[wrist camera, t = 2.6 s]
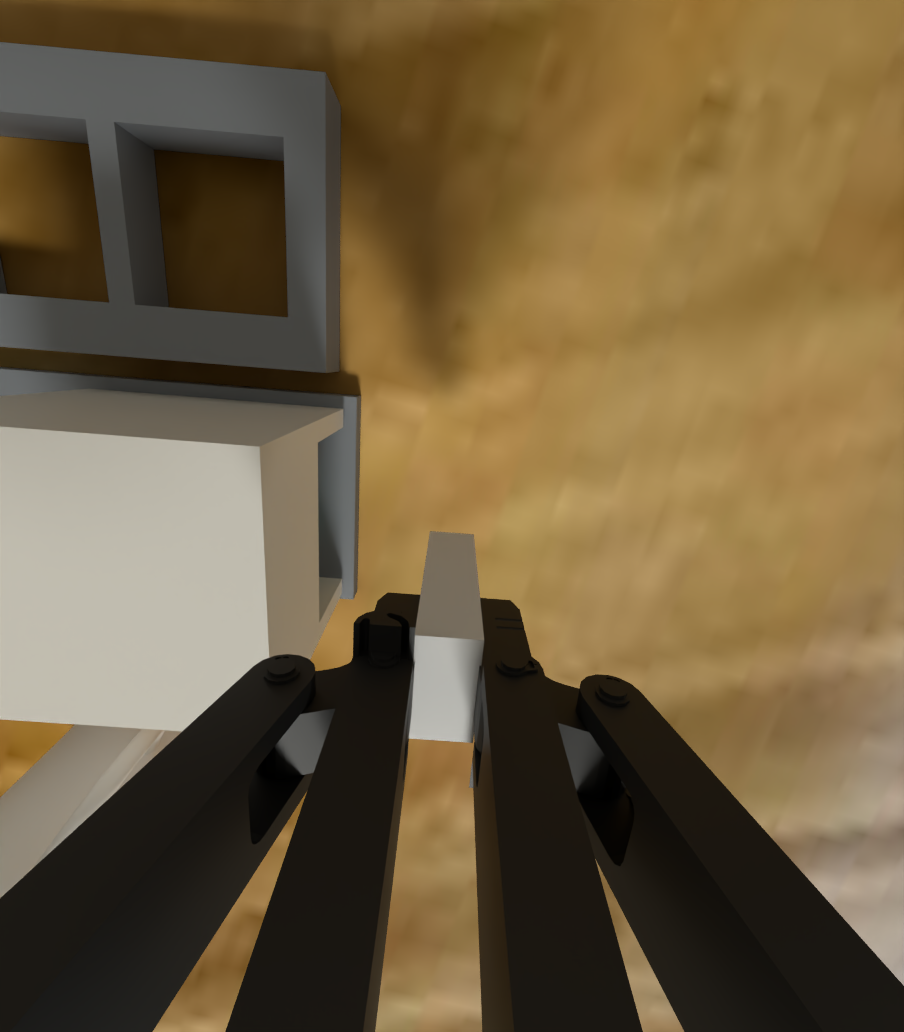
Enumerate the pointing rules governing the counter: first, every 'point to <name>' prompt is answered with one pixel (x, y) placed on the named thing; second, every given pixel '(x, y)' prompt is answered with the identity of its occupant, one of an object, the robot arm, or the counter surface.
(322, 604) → the cover
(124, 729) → the mug
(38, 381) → the board
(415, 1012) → the counter surface
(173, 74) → the socket board
